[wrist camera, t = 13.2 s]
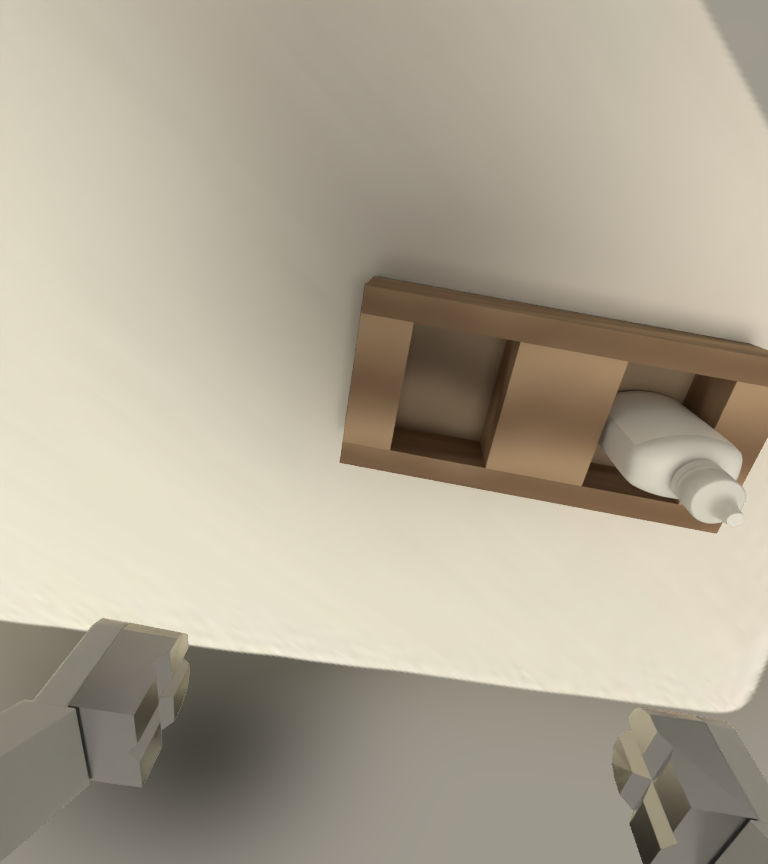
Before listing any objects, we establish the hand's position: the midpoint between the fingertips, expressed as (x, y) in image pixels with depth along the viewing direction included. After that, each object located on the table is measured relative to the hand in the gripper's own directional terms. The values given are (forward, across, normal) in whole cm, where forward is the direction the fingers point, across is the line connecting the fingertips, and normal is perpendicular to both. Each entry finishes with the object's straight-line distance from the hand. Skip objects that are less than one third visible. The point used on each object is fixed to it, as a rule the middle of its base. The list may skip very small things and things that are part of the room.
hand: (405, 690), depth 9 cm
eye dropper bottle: (+25, -14, +2) cm, 29 cm away
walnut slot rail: (+26, -8, +2) cm, 27 cm away
